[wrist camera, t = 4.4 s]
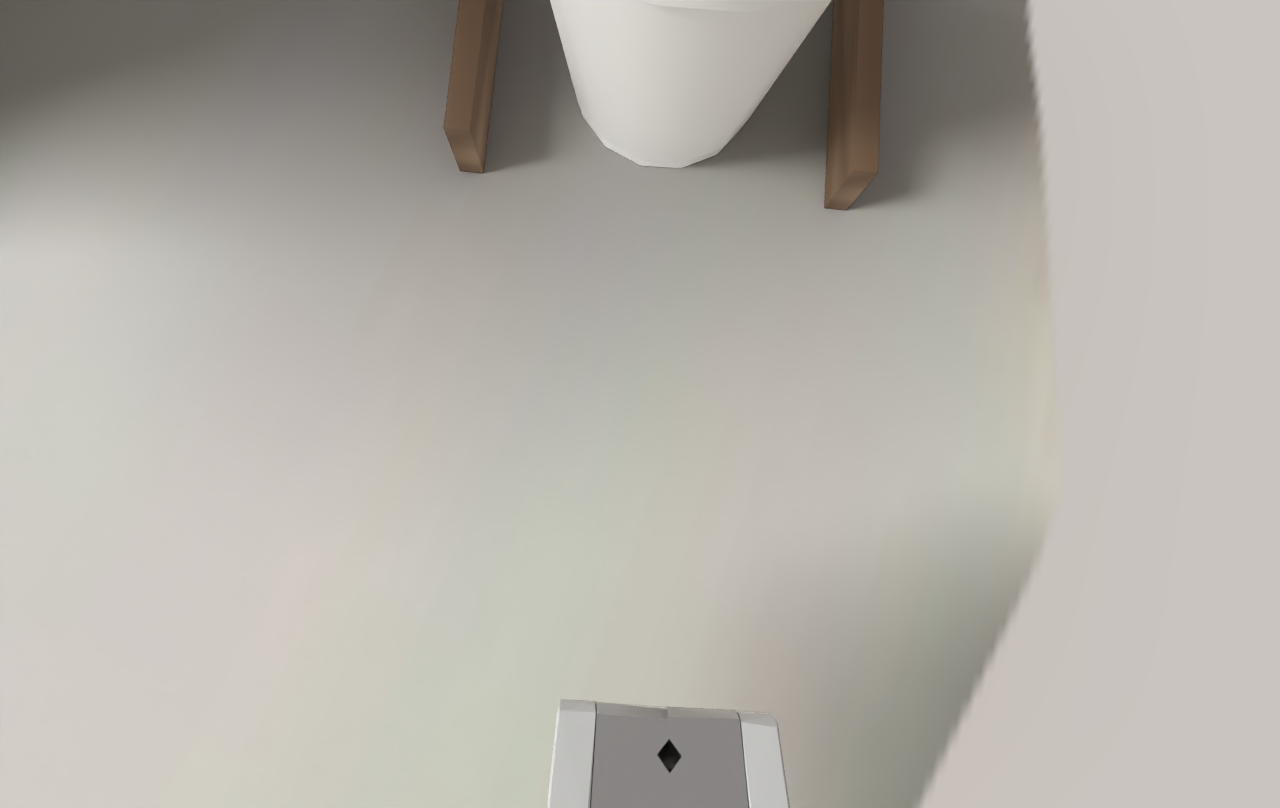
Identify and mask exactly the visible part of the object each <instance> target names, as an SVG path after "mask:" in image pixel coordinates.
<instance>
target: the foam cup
mask: <svg viewBox="0 0 1280 808" xmlns="http://www.w3.org/2000/svg"><path fill="white" fill-rule="evenodd" d="M831 1H832V0H550V2H551V6H552V10H553V13H554V17H555V21H556V24H557V28H558V31H559V35H560V39H561V42H562V46H563V50H564V53H565V57H566V61H567V64H568V68H569V72H570V75H571V79H572V83H573V86H574V90H575V93H576V97H577V101H578V104H579V107H580V108H581V113H582V116H583V117H584V119H585V120H586V121H587V123H588V124H589V125H590V127H591V128H592V129H593V131H594V132H595V133H596V135H597V136H598V137H599V139H600V140H601V141H602V143H603V144H604V145H605V147H607V148H609V149H611V150H613V151H615V152H616V153H618V154H620V155H622V156H624V157H626V158H628V159H629V160H631V161H633V162H635V163H637V164H639V165H641V166H655V167H668V168H683V167H685V166H688V165H691V164H693V163H696V162H699V161H701V160H704V159H707V158H709V157H712V156H715V155H717V154H718V153H719V152H720V151H721V150H722V149H723V147H724V146H725V145H726V144H727V143H728V142H729V141H730V140H731V139H732V138H733V137H734V136H735V135H736V134H737V132H738V131H739V130H740V129H741V128H742V127H743V125H744V124H745V122H746V121H747V120H748V119H749V118H750V116H751V115H752V113H753V112H754V111H755V109H756V108H757V106H758V105H759V103H760V102H761V101H762V99H763V98H764V96H765V95H766V93H767V92H768V91H769V89H770V88H771V86H772V85H773V83H774V82H775V81H776V79H777V78H778V76H779V75H780V73H781V72H782V71H783V69H784V68H785V66H786V65H787V63H788V62H789V61H790V59H791V58H792V56H793V55H794V53H795V52H796V51H797V49H798V48H799V46H800V45H801V43H802V42H803V41H804V39H805V38H806V36H807V35H808V33H809V32H810V31H811V29H812V28H813V26H814V25H815V23H816V22H817V21H818V19H819V18H820V16H821V15H822V13H823V12H824V11H825V9H826V8H827V6H828V5H829V3H830V2H831Z"/></svg>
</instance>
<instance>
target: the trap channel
mask: <svg viewBox="0 0 1280 808" xmlns="http://www.w3.org/2000/svg"><path fill="white" fill-rule="evenodd" d="M883 4H884V0H834V3H833V26H832V48H831V71H830V93H829V115H828V138H827V160H826V183H825V205H824V208H830V209H840V210H847V209H848V208H849V207H850V205H851V204H852V203H853V202H854V201H855V199H856V198H857V197H858V196H859V195H860V193H861V192H862V191H863V190H864V189H865V187H866V186H867V185H868V184H869V183H870V181H871V180H872V179H873V178H874V177H875V175H876V174H877V173H878V152H879V122H880V93H881V63H882V34H883ZM502 7H503V0H459V8H458V16H457V24H456V32H455V40H454V48H453V56H452V64H451V72H450V80H449V88H448V96H447V104H446V112H445V120H444V130H445V132H446V135H447V138H448V140H449V143H450V146H451V148H452V151H453V154H454V156H455V159H456V162H457V164H458V167H459V170H460V171H466V172H476V173H483V171H484V163H485V154H486V146H487V137H488V128H489V120H490V111H491V102H492V94H493V85H494V76H495V68H496V59H497V51H498V42H499V33H500V25H501V16H502Z"/></svg>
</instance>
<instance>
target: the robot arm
mask: <svg viewBox="0 0 1280 808" xmlns="http://www.w3.org/2000/svg"><path fill="white" fill-rule="evenodd" d="M547 808H790V806H789V799H788V792H787V785H786V778H785V771H784V764H783V757H782V751H781V744H780V737H779V730H778V723H777V721H776V719H775V717H774V716H773V715H772V714H771V713H763V712H748V711H736V710H724V709H704V708H685V707H661V706H647V705H633V704H618V703H604V702H596V701H584V700H566V699H560V702H559V707H558V711H557V719H556V728H555V737H554V747H553V756H552V765H551V774H550V783H549V792H548V802H547Z"/></svg>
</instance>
